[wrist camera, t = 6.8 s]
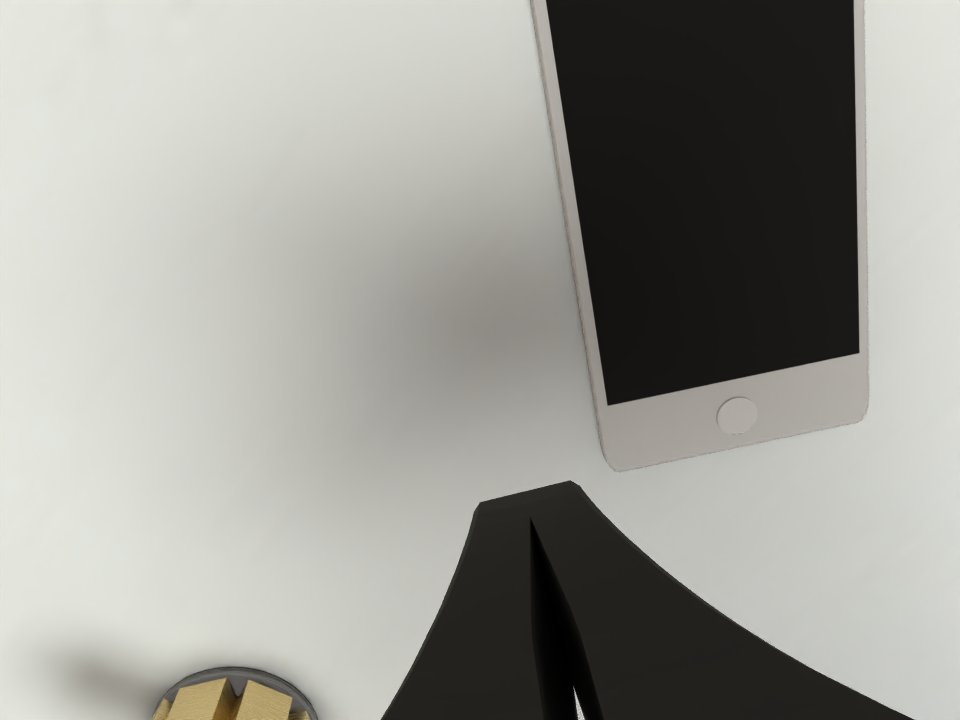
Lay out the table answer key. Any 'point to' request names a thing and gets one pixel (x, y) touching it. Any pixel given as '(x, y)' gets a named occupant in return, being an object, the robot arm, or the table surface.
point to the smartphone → (713, 215)
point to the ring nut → (228, 703)
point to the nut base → (238, 681)
